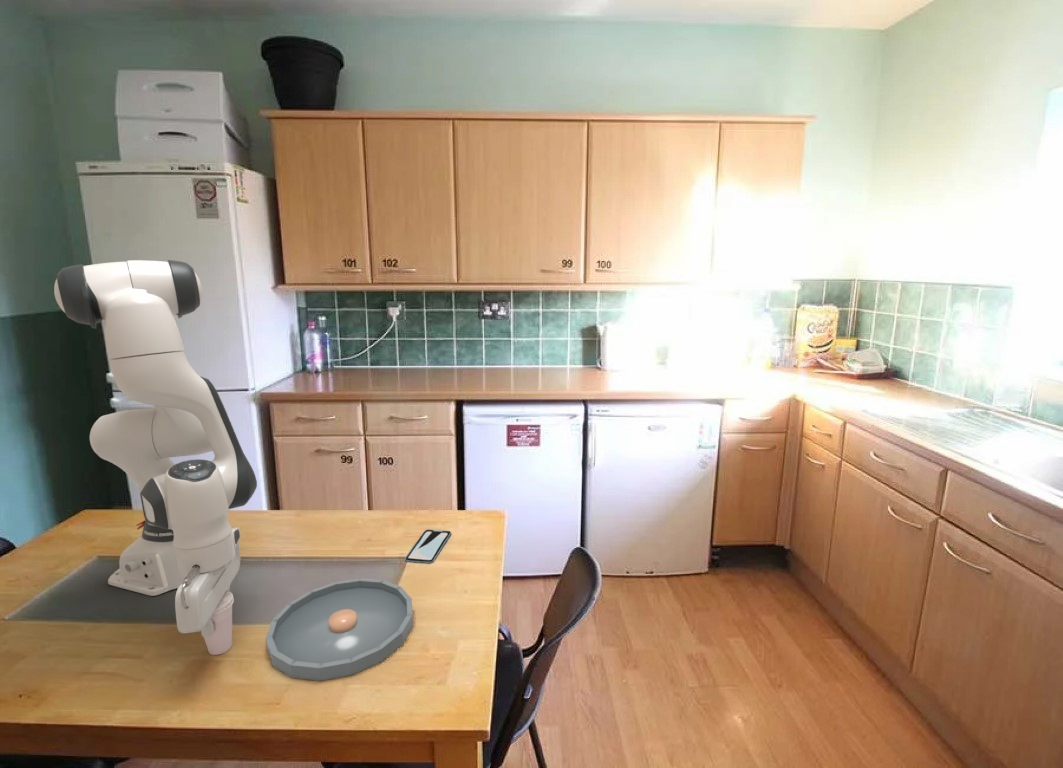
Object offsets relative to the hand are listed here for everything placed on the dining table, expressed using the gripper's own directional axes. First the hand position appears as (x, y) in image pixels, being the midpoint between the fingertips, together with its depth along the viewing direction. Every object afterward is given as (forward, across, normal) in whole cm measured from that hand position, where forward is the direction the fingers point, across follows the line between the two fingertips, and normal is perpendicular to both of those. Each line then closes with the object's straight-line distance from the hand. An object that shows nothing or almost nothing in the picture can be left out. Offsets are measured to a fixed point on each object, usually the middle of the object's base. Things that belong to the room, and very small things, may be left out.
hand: (216, 621), depth 96 cm
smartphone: (+6, +28, -38) cm, 48 cm away
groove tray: (+6, 0, -22) cm, 22 cm away
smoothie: (+6, 0, 0) cm, 6 cm away
